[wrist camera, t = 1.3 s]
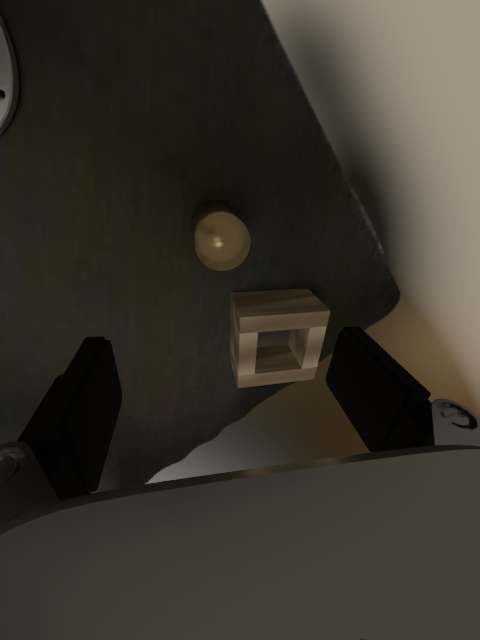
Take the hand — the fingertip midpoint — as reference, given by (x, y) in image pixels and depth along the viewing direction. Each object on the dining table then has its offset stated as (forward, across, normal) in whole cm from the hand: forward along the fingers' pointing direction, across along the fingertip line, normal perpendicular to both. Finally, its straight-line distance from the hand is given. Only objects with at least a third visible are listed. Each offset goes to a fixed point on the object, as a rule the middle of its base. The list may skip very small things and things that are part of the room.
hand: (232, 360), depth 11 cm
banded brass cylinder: (+20, -1, -2) cm, 20 cm away
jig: (+20, -8, +11) cm, 25 cm away
